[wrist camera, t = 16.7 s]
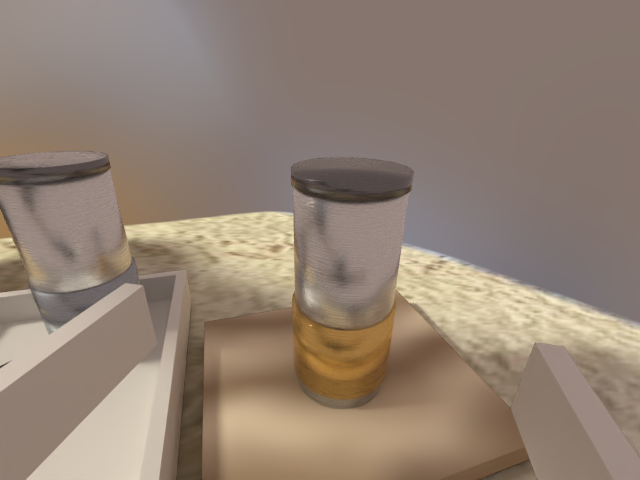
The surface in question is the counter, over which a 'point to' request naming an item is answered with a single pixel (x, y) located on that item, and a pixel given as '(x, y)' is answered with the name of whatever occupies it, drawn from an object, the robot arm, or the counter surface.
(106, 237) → the clear grey lidded jar
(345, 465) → the board
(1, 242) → the counter surface
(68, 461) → the white shaker tray
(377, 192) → the lidded honey jar
